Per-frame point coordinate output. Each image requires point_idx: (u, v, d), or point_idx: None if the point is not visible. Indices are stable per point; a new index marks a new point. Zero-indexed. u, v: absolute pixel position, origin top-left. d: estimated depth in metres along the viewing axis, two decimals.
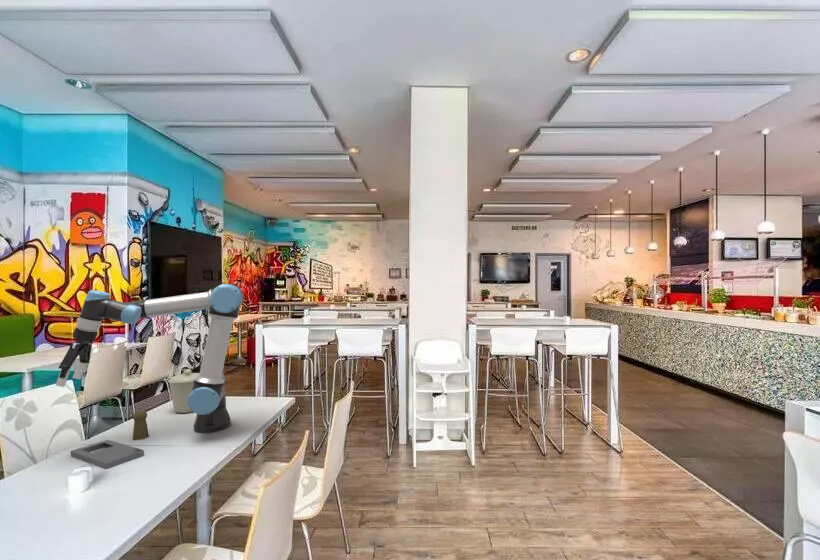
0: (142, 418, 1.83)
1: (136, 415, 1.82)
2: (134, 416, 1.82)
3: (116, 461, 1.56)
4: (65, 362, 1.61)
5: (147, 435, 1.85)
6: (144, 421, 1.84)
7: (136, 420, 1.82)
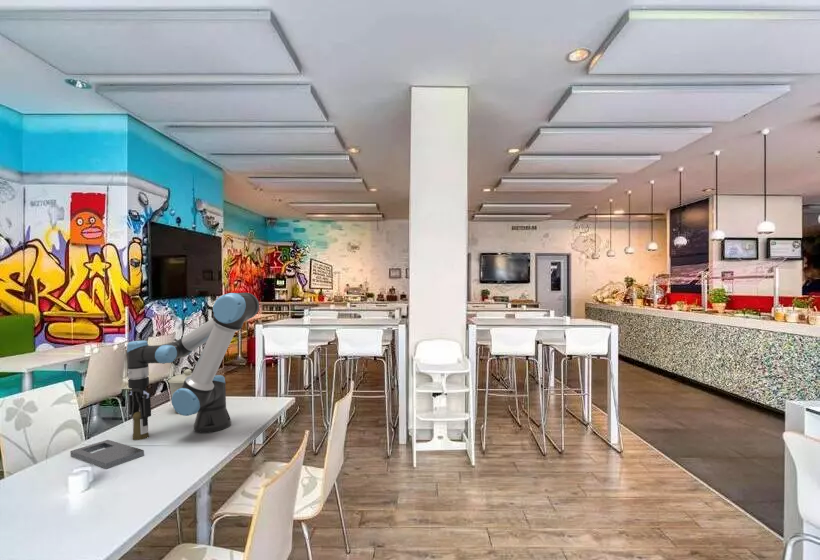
0: None
1: (136, 415, 1.82)
2: (134, 416, 1.82)
3: (116, 461, 1.56)
4: (148, 411, 1.81)
5: (147, 435, 1.85)
6: None
7: (136, 420, 1.82)
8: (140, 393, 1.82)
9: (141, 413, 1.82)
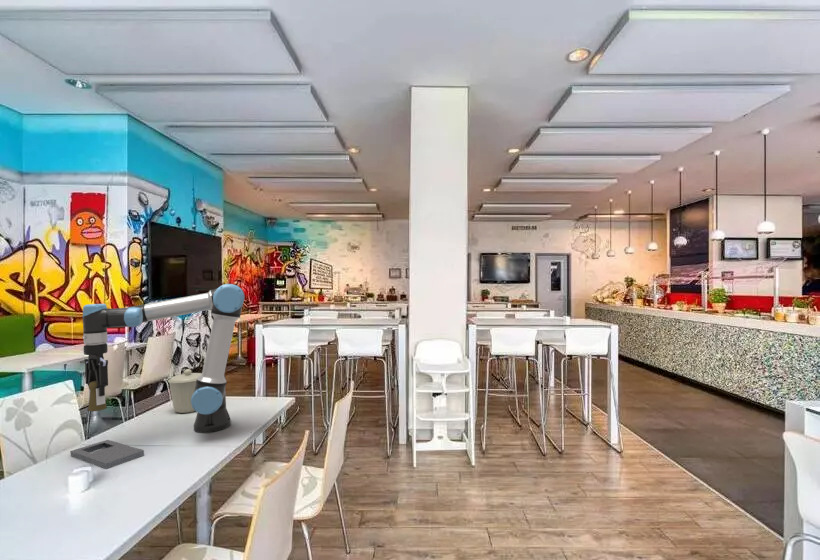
0: None
1: (92, 384, 1.67)
2: (90, 385, 1.67)
3: (116, 461, 1.56)
4: (104, 380, 1.66)
5: (104, 406, 1.69)
6: None
7: (92, 389, 1.67)
8: (96, 360, 1.67)
9: (97, 382, 1.67)
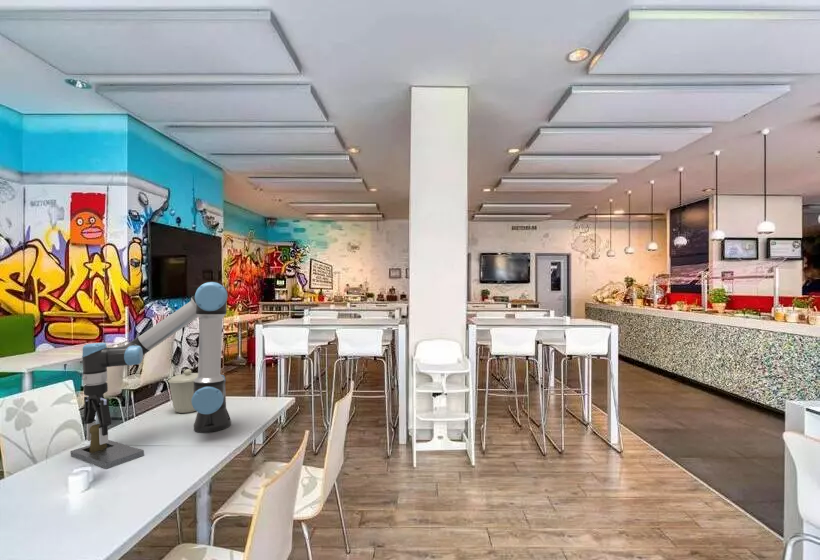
0: None
1: (93, 428, 1.67)
2: (91, 429, 1.67)
3: (116, 461, 1.56)
4: (107, 419, 1.65)
5: None
6: None
7: (93, 434, 1.67)
8: (97, 400, 1.66)
9: (100, 421, 1.65)
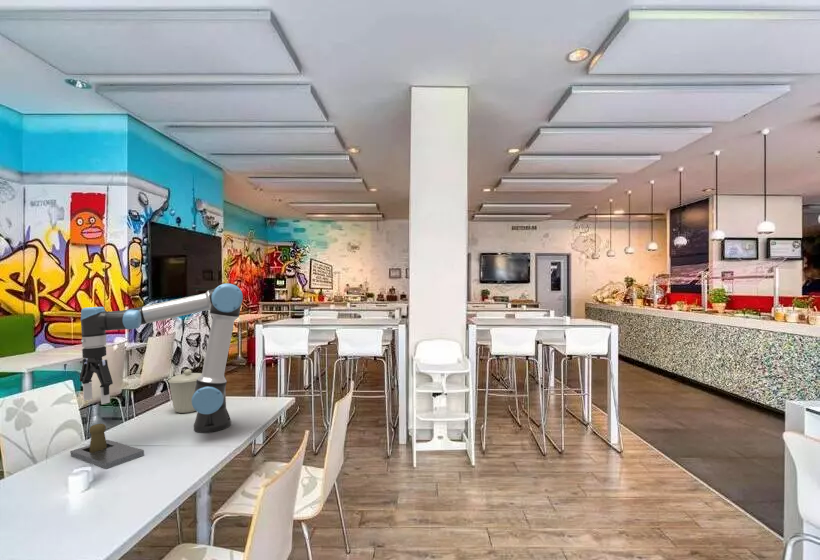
0: (99, 432, 1.67)
1: (93, 428, 1.67)
2: (90, 429, 1.67)
3: (116, 461, 1.56)
4: (108, 378, 1.64)
5: None
6: (102, 435, 1.68)
7: (93, 434, 1.67)
8: (96, 363, 1.66)
9: (101, 381, 1.65)
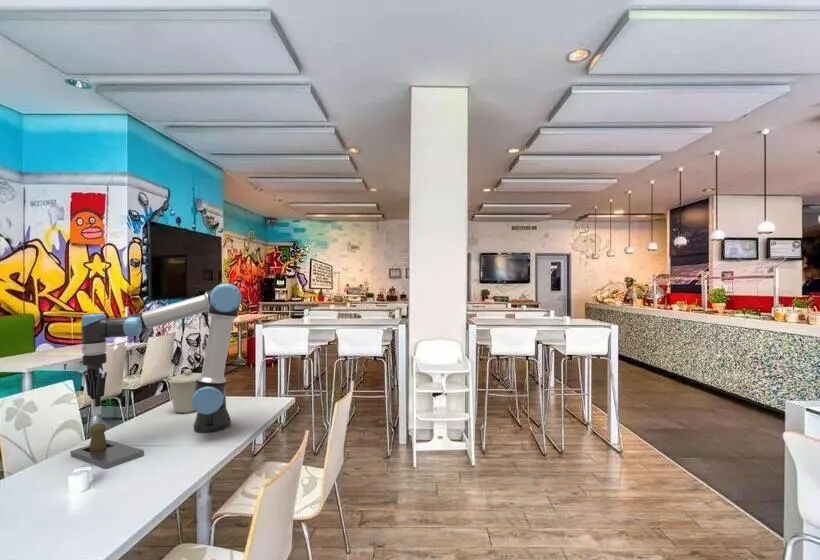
0: (99, 432, 1.67)
1: (93, 428, 1.67)
2: (91, 429, 1.67)
3: (116, 461, 1.56)
4: (101, 391, 1.67)
5: None
6: (102, 435, 1.68)
7: (93, 434, 1.67)
8: (95, 370, 1.66)
9: (94, 392, 1.67)
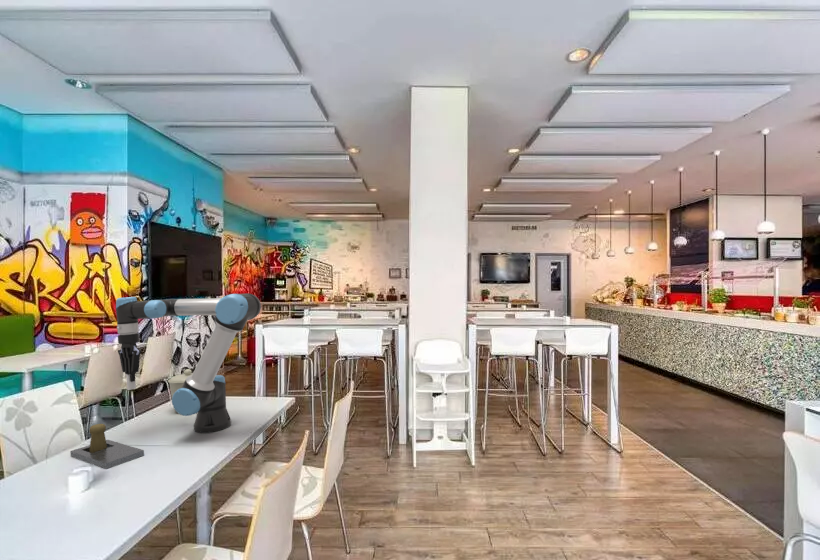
0: (99, 432, 1.67)
1: (93, 428, 1.67)
2: (91, 429, 1.67)
3: (116, 461, 1.56)
4: (135, 367, 1.83)
5: None
6: (102, 435, 1.68)
7: (93, 434, 1.67)
8: (130, 348, 1.82)
9: (129, 369, 1.83)
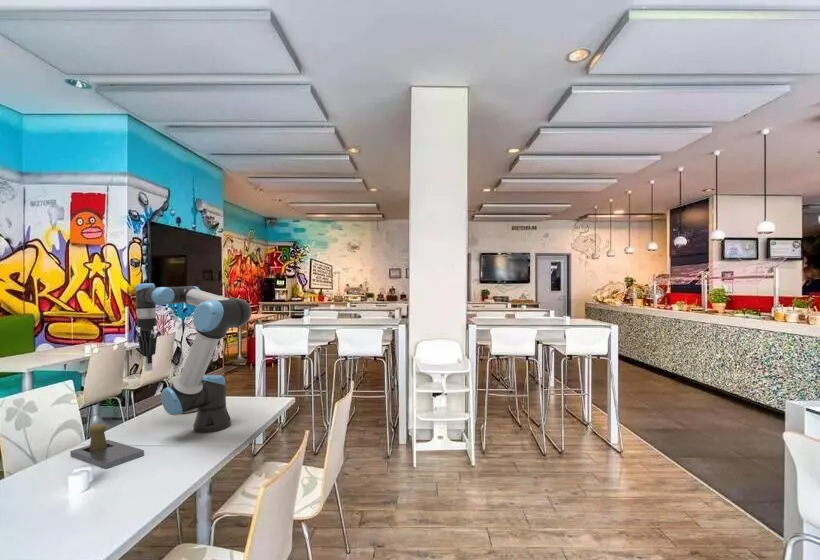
0: (99, 432, 1.67)
1: (93, 428, 1.67)
2: (91, 429, 1.67)
3: (116, 461, 1.56)
4: (152, 350, 1.93)
5: None
6: (102, 435, 1.68)
7: (93, 434, 1.67)
8: (148, 332, 1.93)
9: (146, 351, 1.93)
